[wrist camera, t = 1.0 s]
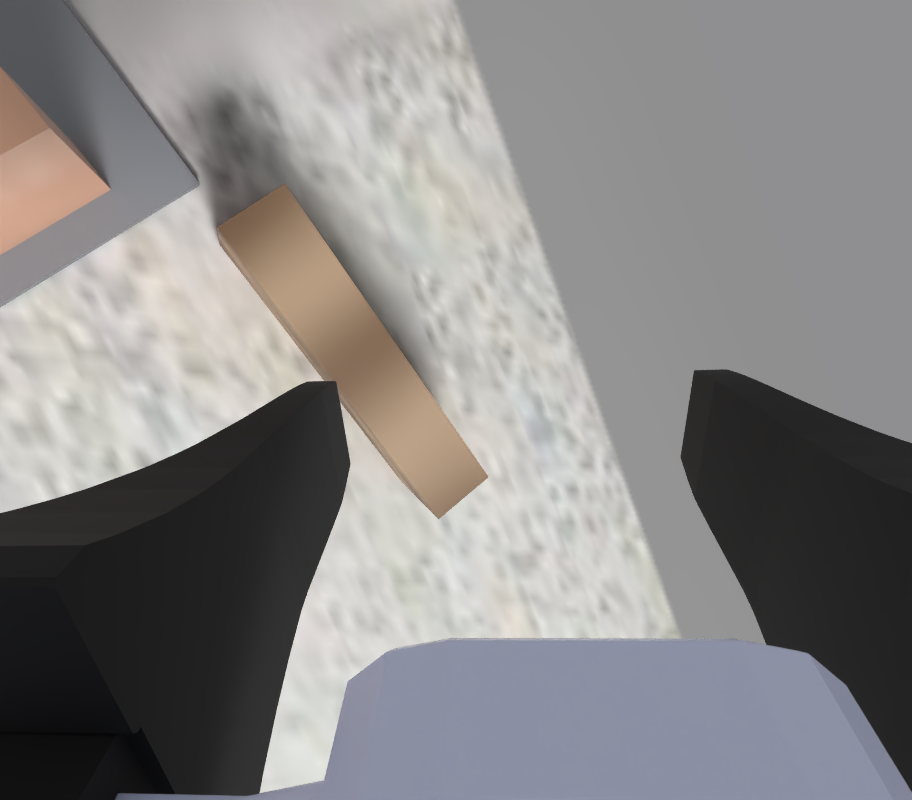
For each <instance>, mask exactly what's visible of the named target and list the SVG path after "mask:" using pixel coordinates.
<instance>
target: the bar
mask: <svg viewBox="0 0 912 800" xmlns="http://www.w3.org/2000/svg"><path fill="white" fill-rule="evenodd" d="M217 232H218V237H219V243H220V246H221V247H222V248H223V250H224V251H225V252H226V253H227V255H228V256H229V257H230V259H231V260H232V261H233V263H234V264H235V265H236V267H237V268H238V269H239V270H240V272H241V273H242V274H243V276H244V277H245V278H246V280H247V281H248V282H249V283H250V285H251V286H252V287H253V289H254V290H255V291H256V293H257V294H258V295H259V296H260V298H261V299H262V300H263V302H264V303H265V304H266V306H267V307H268V308H269V310H270V311H271V312H272V313H273V315H274V316H275V317H276V319H277V320H278V321H279V323H280V324H281V325H282V326H283V328H284V329H285V330H286V332H287V333H288V334H289V336H290V337H291V338H292V339H293V341H294V342H295V343H296V345H297V346H298V347H299V349H300V350H301V351H302V352H303V354H304V355H305V356H306V358H307V359H308V360H309V362H310V363H311V364H312V366H313V367H314V368H315V369H316V371H317V372H318V373H319V375H320V376H321V377H322V379H323V380H324V381H336V383H337V388H338V394H339V400H340V402H341V403H342V405H343V406H344V407H345V409H346V410H347V411H348V412H349V414H350V415H351V416H352V418H353V419H354V420H355V422H356V423H357V424H358V425H359V427H360V428H361V429H362V431H363V432H364V433H365V435H366V436H367V437H368V438H369V440H370V441H371V442H372V444H373V445H374V446H375V448H376V449H377V450H378V452H379V453H380V454H381V455H382V457H383V458H384V459H385V461H386V462H387V463H388V465H389V466H390V467H391V468H392V470H393V471H394V472H395V474H396V475H397V476H398V478H399V479H400V480H401V481H402V483H403V484H404V485H405V486H406V487H407V488H408V489H409V490H410V491H411V492H412V493H413V494H414V495H415V496H416V497H417V498H418V499H419V500H420V501H421V502H422V503H423V504H424V505H425V506H426V507H427V508H428V509H429V510H430V511H431V512H432V513H433V514H434V515H435V516H436V517H437V518H438V519H439V518H441V517H442V516H443V515H444V514H445V513H446V512H448V511H449V510H450V509H451V508H452V507H454V506H455V505H456V504H457V503H458V502H459V501H461V500H462V499H463V498H464V497H465V496H467V495H468V494H469V493H470V492H471V491H472V490H474V489H475V488H476V487H477V486H478V485H480V484H481V483H482V482H483V481H484V480H486V479H487V478H488V475H487V474H486V473H485V471H484V470H483V468H482V467H481V465H480V464H479V463H478V461H477V460H476V458H475V457H474V455H473V454H472V452H471V451H470V450H469V448H468V447H467V445H466V444H465V442H464V441H463V439H462V438H461V437H460V435H459V434H458V432H457V431H456V429H455V428H454V427H453V425H452V424H451V422H450V421H449V419H448V418H447V416H446V415H445V414H444V412H443V411H442V409H441V408H440V406H439V405H438V403H437V402H436V401H435V399H434V398H433V396H432V395H431V393H430V392H429V391H428V389H427V388H426V386H425V385H424V383H423V382H422V380H421V379H420V378H419V376H418V375H417V373H416V372H415V370H414V369H413V367H412V366H411V365H410V363H409V362H408V360H407V359H406V357H405V356H404V354H403V353H402V352H401V350H400V349H399V347H398V346H397V344H396V343H395V342H394V340H393V339H392V337H391V336H390V334H389V333H388V331H387V330H386V329H385V327H384V326H383V324H382V323H381V321H380V320H379V318H378V317H377V316H376V314H375V313H374V311H373V310H372V308H371V307H370V306H369V304H368V303H367V301H366V300H365V298H364V297H363V295H362V294H361V293H360V291H359V290H358V288H357V287H356V285H355V284H354V282H353V281H352V280H351V278H350V277H349V275H348V274H347V272H346V271H345V269H344V268H343V267H342V265H341V264H340V262H339V261H338V259H337V258H336V257H335V255H334V254H333V252H332V251H331V249H330V248H329V246H328V245H327V244H326V242H325V241H324V239H323V238H322V236H321V235H320V233H319V232H318V231H317V229H316V228H315V226H314V225H313V223H312V222H311V221H310V219H309V218H308V216H307V215H306V213H305V212H304V210H303V209H302V208H301V206H300V205H299V203H298V202H297V200H296V199H295V197H294V196H293V195H292V193H291V192H290V190H289V189H288V187H287V186H286V185H285V184H284V185H282V186H281V187H279V188H277V189H276V190H274V191H273V192H271V193H270V194H268V195H266V196H265V197H263V198H262V199H260V200H259V201H257V202H255V203H254V204H252V205H251V206H249V207H248V208H246V209H245V210H243V211H241V212H240V213H238V214H237V215H235V216H234V217H232V218H230V219H229V220H227V221H226V222H224V223H223V224H221V225H219V226H218V227H217Z"/></svg>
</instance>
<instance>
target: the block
mask: <svg viewBox="0 0 912 800" xmlns="http://www.w3.org/2000/svg"><path fill="white" fill-rule="evenodd" d="M109 190H111V189H110V188H109V186H108V185H107V184H106V183H105V181H104V180H103V179H102V178H101V176H100V175H99V174H98V173H97V171H96V170H95V169H94V168H93V166H92V165H91V164H90V163H89V162H88V160H87V159H86V158H85V157H84V155H83V154H82V153H81V152H80V150H79V149H78V148H77V147H76V145H75V144H74V143H73V142H72V141H71V140H70V139H69V138H68V137H67V136H66V135H65V134H64V133H63V132H62V131H61V130H60V129H59V127H58V126H57V125H56V124H55V123H54V122H53V121H52V120H51V119H50V118H49V117H48V116H47V115H46V114H45V113H44V112H43V111H42V110H41V108H40V107H39V106H38V105H37V104H36V103H35V102H34V101H33V100H32V99H31V98H30V97H29V96H28V95H27V94H26V93H25V92H24V91H23V89H22V88H21V87H20V86H19V85H18V84H17V83H16V82H15V81H14V80H13V79H12V78H11V77H10V76H9V75H8V74H7V73H6V72H5V70H4V69H3V68H2V67H1V66H0V255H1V254H3V253H5V252H6V251H8V250H10V249H11V248H13V247H15V246H16V245H18V244H20V243H22V242H23V241H25V240H27V239H28V238H30V237H32V236H33V235H35V234H37V233H38V232H40V231H42V230H44V229H45V228H47V227H49V226H50V225H52V224H54V223H55V222H57V221H59V220H60V219H62V218H64V217H65V216H67V215H69V214H71V213H72V212H74V211H76V210H77V209H79V208H81V207H82V206H84V205H86V204H87V203H89V202H91V201H93V200H94V199H96V198H98V197H99V196H101V195H103V194H104V193H106V192H108V191H109Z"/></svg>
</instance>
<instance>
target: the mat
mask: <svg viewBox="0 0 912 800" xmlns="http://www.w3.org/2000/svg"><path fill="white" fill-rule="evenodd" d="M0 66H1V67H2V68H3V69H4V70H5V72H6V73H7V74H8V75H9V76H10V77H11V78H12V79H13V80H14V81H15V82H16V83H17V84H18V85H19V86H20V87H21V88H22V89H23V91H24V92H25V93H26V94H27V95H28V96H29V97H30V98H31V99H32V100H33V101H34V102H35V103H36V104H37V105H38V106H39V107H40V108H41V110H42V111H43V112H44V113H45V114H46V115H47V116H48V117H49V118H50V119H51V120H52V121H53V122H54V123H55V124H56V125H57V126H58V127H59V129H60V130H61V131H62V132H63V133H64V134H65V135H66V136H67V137H68V138H69V139H70V140H71V141H72V142H73V143H74V144H75V145H76V147H77V148H78V149H79V150H80V152H81V153H82V154H83V155H84V157H85V158H86V159H87V160H88V162H89V163H90V164H91V165H92V166H93V168H94V169H95V170H96V171H97V173H98V174H99V175H100V176H101V178H102V179H103V180H104V181H105V183H106V184H107V185H108V186H109V188H110V189H111V190H109V191H108V192H106V193H104V194H103V195H101V196H99V197H98V198H96V199H94V200H93V201H91V202H89V203H87V204H86V205H84V206H82V207H81V208H79V209H77V210H76V211H74V212H72V213H71V214H69V215H67V216H65V217H64V218H62V219H60V220H59V221H57V222H55V223H54V224H52V225H50V226H49V227H47V228H45V229H44V230H42V231H40V232H38V233H37V234H35V235H33V236H32V237H30V238H28V239H27V240H25V241H23V242H22V243H20V244H18V245H16V246H15V247H13V248H11V249H10V250H8V251H6V252H5V253H3V254H1V255H0V307H1V306H3V305H5V304H6V303H8V302H10V301H11V300H13V299H15V298H16V297H18V296H19V295H21V294H23V293H24V292H26V291H28V290H29V289H31V288H32V287H34V286H36V285H37V284H39V283H41V282H42V281H44V280H46V279H47V278H49V277H50V276H52V275H54V274H55V273H57V272H59V271H60V270H62V269H64V268H65V267H67V266H68V265H70V264H72V263H73V262H75V261H77V260H78V259H80V258H81V257H83V256H85V255H86V254H88V253H90V252H91V251H93V250H95V249H96V248H98V247H99V246H101V245H103V244H104V243H106V242H108V241H109V240H111V239H113V238H114V237H116V236H117V235H119V234H121V233H122V232H124V231H126V230H127V229H129V228H130V227H132V226H134V225H135V224H137V223H139V222H140V221H142V220H144V219H145V218H147V217H148V216H150V215H152V214H153V213H155V212H157V211H158V210H160V209H162V208H163V207H165V206H166V205H168V204H170V203H171V202H173V201H175V200H176V199H178V198H179V197H181V196H183V195H184V194H186V193H188V192H189V191H191V190H193V189H194V188H196V187H197V186H199V182H198V181H197V179H196V178H195V177H194V175H193V174H192V173H191V171H190V170H189V169H188V167H187V166H186V165H185V163H184V162H183V161H182V159H181V158H180V157H179V155H178V154H177V153H176V151H175V150H174V149H173V147H172V146H171V145H170V143H169V142H168V141H167V139H166V138H165V137H164V135H163V134H162V133H161V131H160V130H159V129H158V127H157V126H156V124H155V123H154V122H153V120H152V119H151V118H150V116H149V115H148V114H147V112H146V111H145V110H144V108H143V107H142V106H141V104H140V103H139V102H138V100H137V99H136V98H135V96H134V95H133V94H132V92H131V91H130V90H129V88H128V87H127V86H126V84H125V83H124V82H123V80H122V79H121V78H120V76H119V75H118V74H117V72H116V71H115V70H114V68H113V67H112V66H111V64H110V63H109V62H108V60H107V59H106V58H105V56H104V55H103V54H102V52H101V51H100V49H99V48H98V47H97V45H96V44H95V43H94V41H93V40H92V39H91V37H90V36H89V35H88V33H87V32H86V31H85V29H84V28H83V27H82V25H81V24H80V23H79V21H78V20H77V19H76V17H75V16H74V15H73V13H72V12H71V11H70V9H69V8H68V7H67V5H66V4H65V3H64V1H63V0H0Z"/></svg>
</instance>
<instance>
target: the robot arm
mask: <svg viewBox="0 0 912 800" xmlns="http://www.w3.org/2000/svg"><path fill="white" fill-rule="evenodd" d="M681 460H682V463H683V466H684V469H685V472H686V476H687V479H688V482H689V484H690V487H691V490H692V493H693V495H694V498H695V500H696V502H697V504H698V506H699V508H700V510H701V512H702V513H703V516H704V517H705V519H706V521H707V523H708V525H709V527H710V529H711V531H712V533H713V535H714V536H715V538H716V540H717V542H718V544H719V546H720V547H721V549H722V551H723V553H724V555H725V557H726V559H727V561H728V562H729V564H730V566H731V568H732V570H733V572H734V573H735V575H736V577H737V579H738V581H739V583H740V585H741V587H742V589H743V590H744V593H745V595H746V597H747V599H748V601H749V603H750V605H751V607H752V610H753V612H754V614H755V617H756V619H757V622H758V624H759V627H760V629H761V632H762V634H763V637H764V639H765V642H766V645H764V644H760V643H754V642H749V641H744V640H738V639H574V638H449V639H444V640H439V641H433V642H428V643H422V644H417V645H411V646H406V647H401V648H396V649H393V650H390V651H388V652H386V653H385V654H383V655H382V656H381V657H379V658H378V659H377V660H375V661H374V662H373V663H372V664H370V665H369V666H368V667H366V668H365V669H364V670H362V671H361V672H360V673H358V674H357V675H356V676H355V677H353V678H352V679H351V680H349V681H348V683H347V687H346V691H345V695H344V700H343V704H342V708H341V712H340V716H339V721H338V725H337V729H336V733H335V737H334V742H333V746H332V750H331V754H330V759H329V763H328V767H327V771H326V775H325V780H323V781H318V782H313V783H308V784H304V785H299V786H294V787H289V788H284V789H279V790H274V791H269V792H264V793H260V787H261V782H262V777H263V771H264V767H265V762H266V757H267V752H268V748H269V743H270V738H271V734H272V729H273V724H274V720H275V715H276V710H277V706H278V702H279V697H280V693H281V689H282V685H283V681H284V676H285V672H286V668H287V664H288V660H289V656H290V652H291V648H292V644H293V640H294V637H295V633H296V629H297V625H298V621H299V618H300V614H301V610H302V607H303V604H304V601H305V598H306V595H307V592H308V589H309V587H310V584H311V582H312V579H313V577H314V574H315V571H316V569H317V566H318V564H319V561H320V559H321V556H322V554H323V551H324V548H325V546H326V543H327V541H328V538H329V536H330V533H331V530H332V528H333V525H334V522H335V520H336V517H337V515H338V512H339V509H340V506H341V504H342V500H343V496H344V491H345V487H346V483H347V478H348V473H349V468H350V458H349V453H348V447H347V441H346V435H345V429H344V423H343V418H342V412H341V406H340V400H339V394H338V388H337V383H336V381H314V382H305V383H303V384H301V385H299V386H297V387H295V388H293V389H291V390H289V391H288V392H286V393H284V394H282V395H281V396H279V397H277V398H276V399H274V400H273V401H271V402H269V403H268V404H266V405H264V406H263V407H261V408H259V409H258V410H256V411H254V412H253V413H251V414H249V415H248V416H246V417H244V418H243V419H241V420H239V421H238V422H236V423H234V424H232V425H230V426H229V427H227V428H225V429H223V430H221V431H220V432H218V433H216V434H214V435H212V436H211V437H209V438H207V439H205V440H203V441H201V442H200V443H198V444H196V445H194V446H192V447H190V448H188V449H185V450H183V451H181V452H179V453H177V454H175V455H173V456H170V457H168V458H166V459H164V460H161V461H159V462H157V463H155V464H152V465H150V466H147V467H145V468H143V469H140V470H137V471H135V472H132V473H129V474H126V475H124V476H121V477H118V478H115V479H113V480H110V481H107V482H104V483H102V484H99V485H96V486H93V487H91V488H88V489H85V490H82V491H78V492H75V493H72V494H69V495H65V496H62V497H59V498H56V499H52V500H49V501H45V502H41V503H38V504H34V505H31V506H27V507H23V508H20V509H16V510H12V511H8V512H4V513H0V800H912V443H909V442H906V441H903V440H900V439H897V438H894V437H891V436H888V435H885V434H883V433H880V432H877V431H874V430H872V429H869V428H867V427H864V426H862V425H859V424H856V423H854V422H851V421H849V420H846V419H844V418H841V417H839V416H836V415H834V414H832V413H829V412H827V411H825V410H822V409H820V408H818V407H815V406H813V405H811V404H808V403H806V402H804V401H801V400H799V399H797V398H795V397H793V396H790V395H788V394H786V393H784V392H782V391H779V390H777V389H775V388H773V387H770V386H768V385H766V384H763V383H761V382H759V381H757V380H754V379H752V378H750V377H747V376H745V375H742V374H739V373H737V372H733V371H730V370H695V371H694V375H693V381H692V387H691V394H690V401H689V407H688V414H687V420H686V426H685V432H684V439H683V446H682V452H681Z"/></svg>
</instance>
